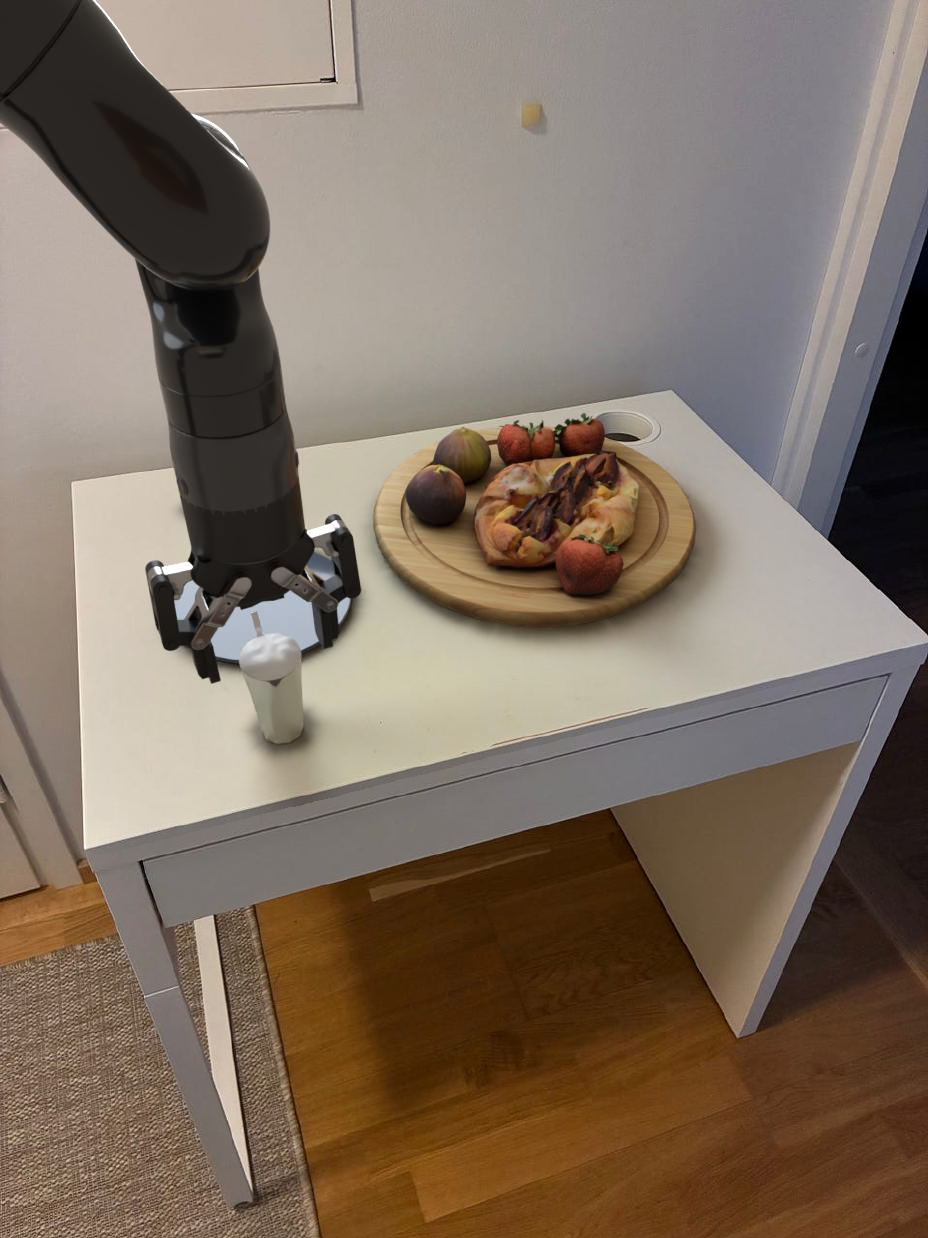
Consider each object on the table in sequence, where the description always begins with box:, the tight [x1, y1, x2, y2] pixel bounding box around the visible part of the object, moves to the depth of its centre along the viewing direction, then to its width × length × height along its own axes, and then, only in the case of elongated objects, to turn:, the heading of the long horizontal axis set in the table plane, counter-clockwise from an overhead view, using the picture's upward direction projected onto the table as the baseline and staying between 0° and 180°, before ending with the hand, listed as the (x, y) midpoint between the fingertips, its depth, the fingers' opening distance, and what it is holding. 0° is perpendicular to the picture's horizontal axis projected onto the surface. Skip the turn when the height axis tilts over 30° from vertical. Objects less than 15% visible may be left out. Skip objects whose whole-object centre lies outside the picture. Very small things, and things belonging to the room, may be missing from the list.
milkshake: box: [238, 611, 305, 745], centre depth 73 cm, size 4×5×10 cm
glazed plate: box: [174, 551, 352, 664], centre depth 87 cm, size 16×16×1 cm
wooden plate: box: [372, 412, 697, 627], centre depth 94 cm, size 32×32×8 cm
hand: (269, 658), depth 71 cm, fingers open, 8 cm apart
